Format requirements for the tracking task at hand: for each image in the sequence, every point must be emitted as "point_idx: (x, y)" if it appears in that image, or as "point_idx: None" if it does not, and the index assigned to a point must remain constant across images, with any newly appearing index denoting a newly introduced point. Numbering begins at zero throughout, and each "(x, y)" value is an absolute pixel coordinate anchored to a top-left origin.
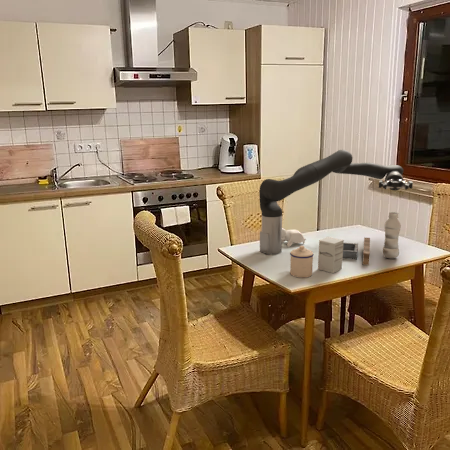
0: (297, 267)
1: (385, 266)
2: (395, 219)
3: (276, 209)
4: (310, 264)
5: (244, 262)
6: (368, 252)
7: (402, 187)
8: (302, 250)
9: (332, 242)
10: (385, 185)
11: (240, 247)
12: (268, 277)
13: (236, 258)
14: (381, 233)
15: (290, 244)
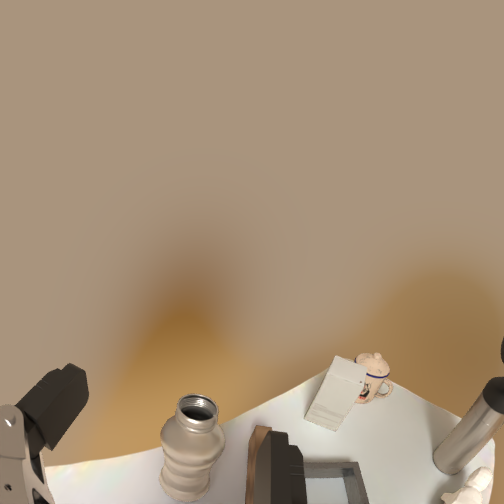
0: None
1: None
2: (189, 409)
3: (495, 381)
4: None
5: (440, 409)
6: (259, 432)
7: (49, 496)
8: (371, 354)
9: (341, 359)
10: (277, 434)
11: (486, 452)
12: (385, 378)
13: (457, 417)
14: None
15: (443, 496)
